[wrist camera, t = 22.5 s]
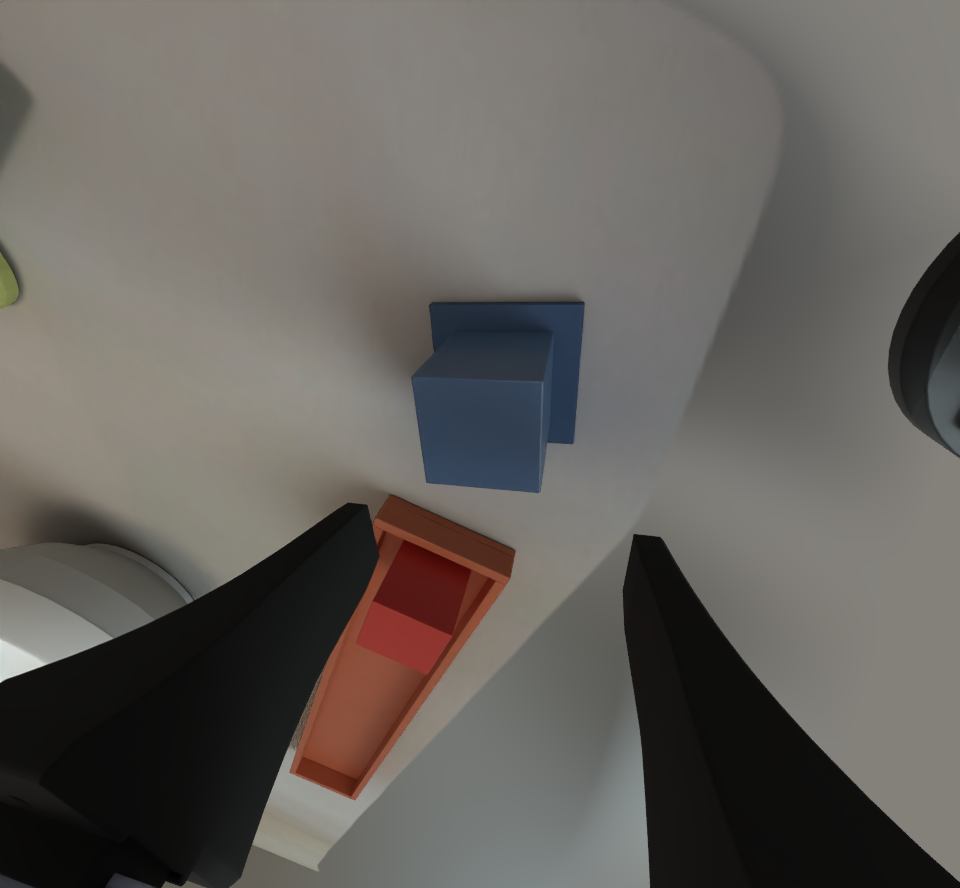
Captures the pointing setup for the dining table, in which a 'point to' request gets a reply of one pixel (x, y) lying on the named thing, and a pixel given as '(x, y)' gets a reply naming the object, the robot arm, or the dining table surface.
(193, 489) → the dining table surface
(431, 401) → the blue block
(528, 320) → the blue mat
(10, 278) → the key
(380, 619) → the red block
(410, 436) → the dining table surface
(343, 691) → the red tray
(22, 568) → the bowl
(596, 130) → the dining table surface
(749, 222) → the dining table surface
